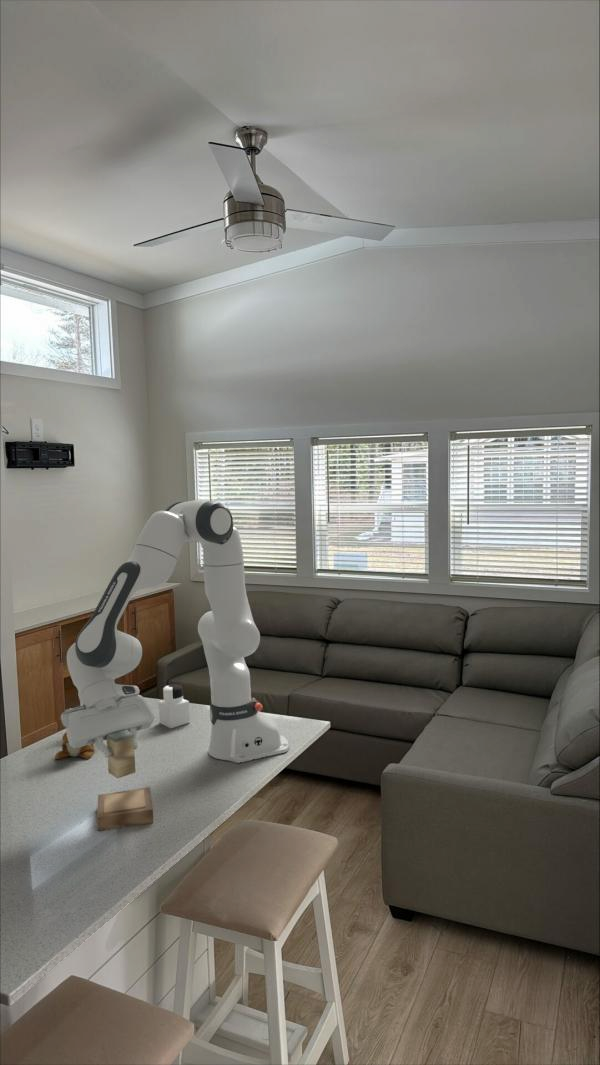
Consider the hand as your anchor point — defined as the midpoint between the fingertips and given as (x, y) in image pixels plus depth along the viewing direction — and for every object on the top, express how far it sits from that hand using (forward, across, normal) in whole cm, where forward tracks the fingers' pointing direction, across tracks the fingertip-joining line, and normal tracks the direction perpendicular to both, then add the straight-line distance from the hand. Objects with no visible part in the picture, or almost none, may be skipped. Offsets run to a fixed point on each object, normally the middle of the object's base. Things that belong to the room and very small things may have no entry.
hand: (122, 752), depth 161 cm
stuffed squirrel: (-21, +8, +43) cm, 49 cm away
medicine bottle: (-22, +39, +43) cm, 63 cm away
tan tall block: (+3, 0, +4) cm, 5 cm away
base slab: (+10, 0, +11) cm, 15 cm away
